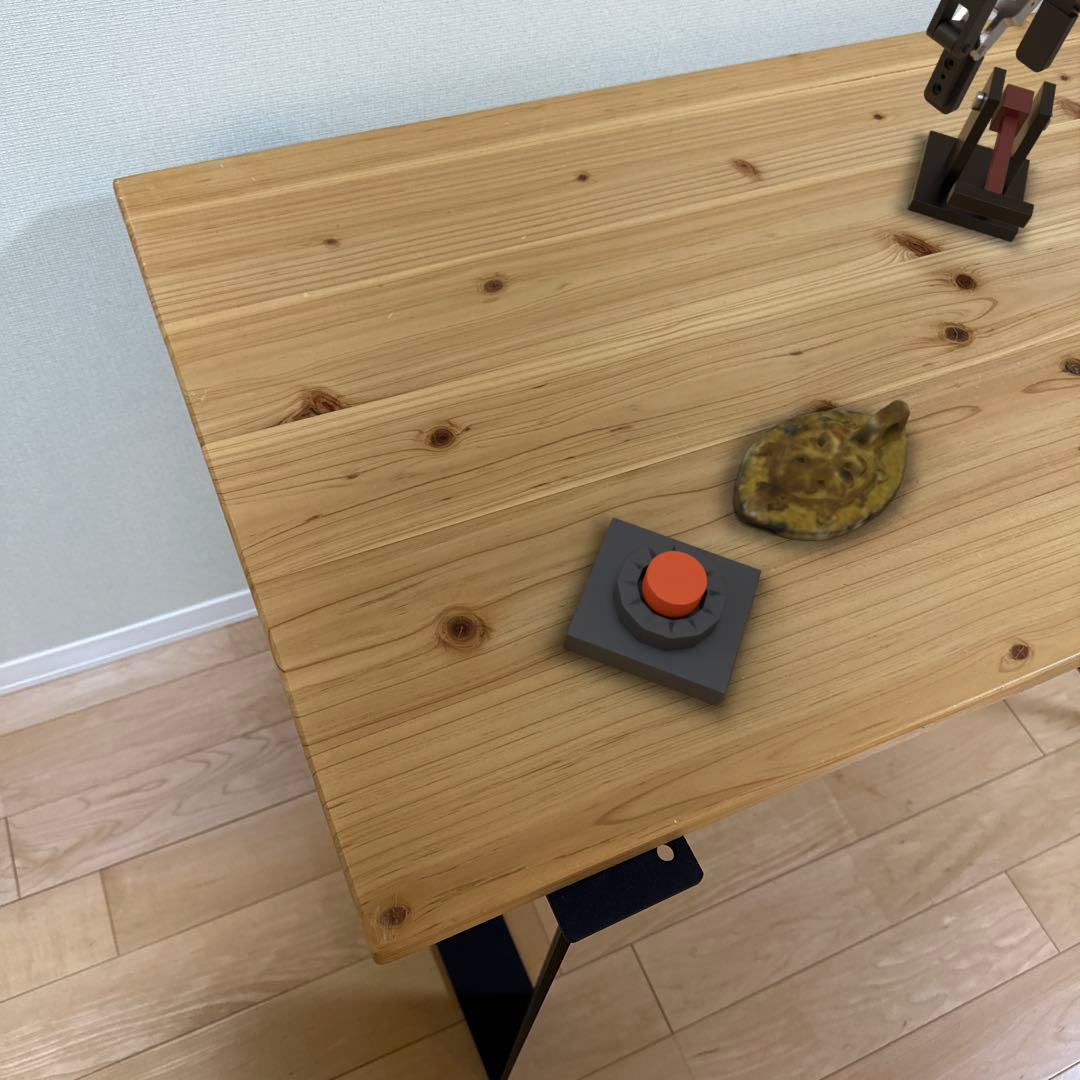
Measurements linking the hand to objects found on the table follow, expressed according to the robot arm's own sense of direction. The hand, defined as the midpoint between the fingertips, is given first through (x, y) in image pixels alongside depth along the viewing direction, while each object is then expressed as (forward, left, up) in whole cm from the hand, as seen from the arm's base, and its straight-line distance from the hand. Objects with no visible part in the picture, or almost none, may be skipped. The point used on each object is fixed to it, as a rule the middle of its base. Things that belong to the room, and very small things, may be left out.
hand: (985, 84), depth 60 cm
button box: (+8, +32, -20) cm, 38 cm away
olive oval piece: (0, +17, -20) cm, 26 cm away
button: (+8, +32, -16) cm, 37 cm away
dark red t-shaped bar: (-5, -13, -13) cm, 19 cm away
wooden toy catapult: (-5, -18, -20) cm, 27 cm away
